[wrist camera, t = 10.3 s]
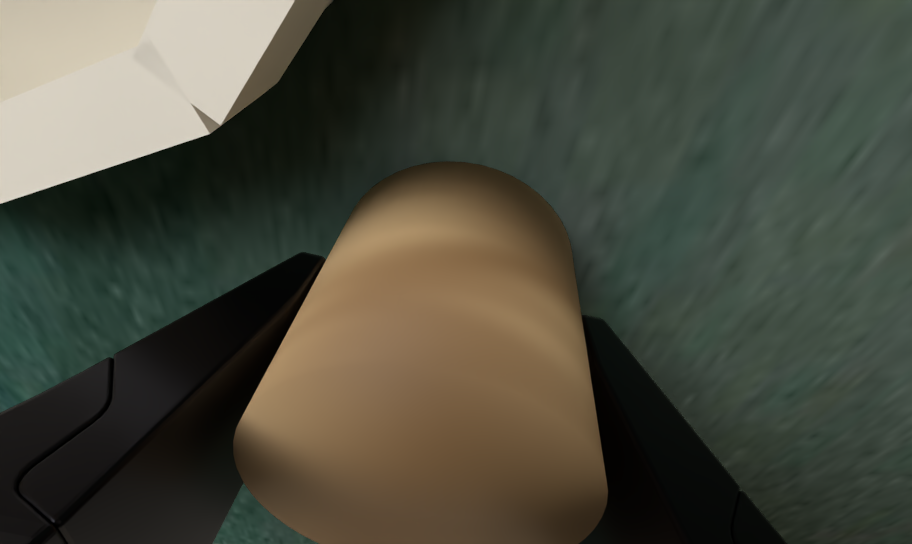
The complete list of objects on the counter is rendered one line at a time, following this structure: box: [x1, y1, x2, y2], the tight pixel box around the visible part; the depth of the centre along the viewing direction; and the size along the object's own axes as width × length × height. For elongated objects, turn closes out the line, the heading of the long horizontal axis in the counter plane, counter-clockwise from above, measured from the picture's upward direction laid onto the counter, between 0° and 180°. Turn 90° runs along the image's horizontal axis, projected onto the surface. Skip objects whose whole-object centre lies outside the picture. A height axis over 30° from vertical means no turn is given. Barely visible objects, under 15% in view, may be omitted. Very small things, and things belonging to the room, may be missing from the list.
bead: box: [233, 161, 608, 544], centre depth 8 cm, size 4×4×4 cm
